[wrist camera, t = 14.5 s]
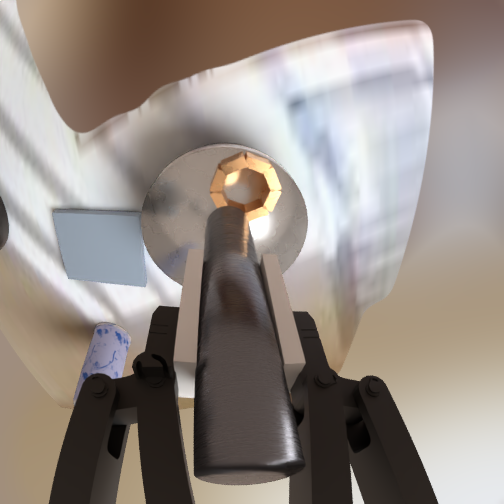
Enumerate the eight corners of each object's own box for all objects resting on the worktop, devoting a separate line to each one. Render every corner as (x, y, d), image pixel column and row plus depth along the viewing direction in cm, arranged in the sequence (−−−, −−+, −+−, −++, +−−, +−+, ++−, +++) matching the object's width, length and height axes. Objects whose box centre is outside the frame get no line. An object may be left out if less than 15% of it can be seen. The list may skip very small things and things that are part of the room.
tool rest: (70, 274, 40) (68, 278, 39) (55, 209, 33) (52, 212, 32) (146, 281, 42) (145, 286, 41) (141, 212, 35) (138, 216, 34)
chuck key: (237, 251, 21) (269, 485, 7) (199, 235, 20) (180, 480, 6) (256, 216, 19) (328, 456, 6) (217, 198, 19) (219, 454, 5)
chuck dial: (264, 298, 38) (268, 319, 35) (133, 262, 33) (125, 282, 30) (330, 181, 29) (343, 195, 26) (170, 120, 24) (161, 127, 21)
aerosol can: (87, 328, 47) (59, 416, 31) (111, 317, 46) (83, 414, 29) (113, 350, 51) (94, 435, 35) (138, 342, 50) (122, 435, 33)
